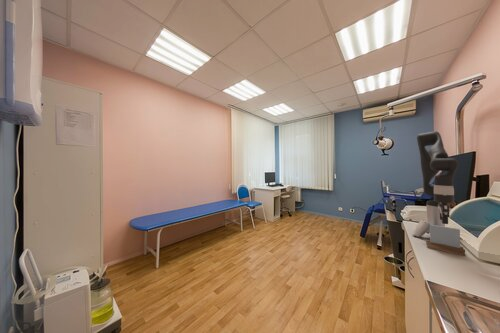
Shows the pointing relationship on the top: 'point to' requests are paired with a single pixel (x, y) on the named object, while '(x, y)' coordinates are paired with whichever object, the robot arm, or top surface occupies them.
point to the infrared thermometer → (421, 229)
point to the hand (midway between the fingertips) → (443, 221)
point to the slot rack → (446, 248)
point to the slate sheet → (445, 236)
